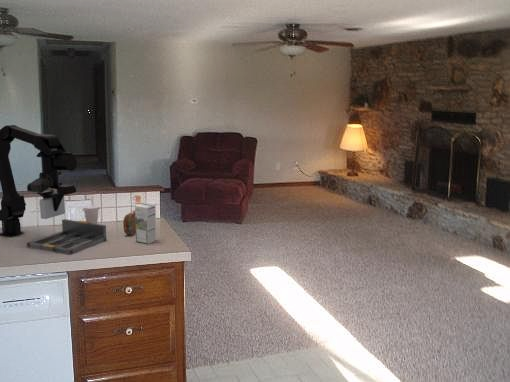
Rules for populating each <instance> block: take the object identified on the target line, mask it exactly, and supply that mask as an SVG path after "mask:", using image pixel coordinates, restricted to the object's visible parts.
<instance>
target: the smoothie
mask: <svg viewBox="0 0 510 382" xmlns="http://www.w3.org/2000/svg"><path fill="white" fill-rule="evenodd" d="M82 208H83V209H82V210H83V211H84V218H85V221H87V222H90V223H94V224H98V221H99V220H98V219H99V210H100V205H98V204H94V196H93V195H91V204H87V205H84V206H82Z"/></svg>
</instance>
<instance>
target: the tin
mask: <svg viewBox="0 0 510 382" xmlns="http://www.w3.org/2000/svg"><path fill="white" fill-rule="evenodd" d="M122 223H123V231H124V234H126V235H127V236H128V235H130V236H131V235H136V221H135V209H134V210H132V211H131V212H129V213H127V214H125V216H124V217H123V220H122Z"/></svg>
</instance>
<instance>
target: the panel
mask: <svg viewBox="0 0 510 382" xmlns="http://www.w3.org/2000/svg"><path fill="white" fill-rule="evenodd" d="M65 203H66V202H65V196H64V197H63V199H62V200H61V203H60V205H59V208H58V210H57V211H54V206H53V198H52V197H49V198H45V199H43V198H41V199H39V211H40V220H41V219H42V220H48V219H50V218H54V217H58V216H62V215H65V214H66V207H65V206H66V205H65Z"/></svg>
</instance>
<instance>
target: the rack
mask: <svg viewBox="0 0 510 382" xmlns="http://www.w3.org/2000/svg"><path fill="white" fill-rule="evenodd" d="M61 223H62V224H61V226H62V230H61V231H59V232H56V233H53V234H49V235H46V236H43V237H40V238H37V239H33V240H31V241H29V242H26V247H27V248H31V249H36V250H40V251H42V250H43V251H48V252H53V253H58V254H64V255H69V256H71V255H73V254H76V253H78V252H81V251H84V250H85V249H88V248H91V247H93V246H97V245H98V244H101V243H103V242H106V241H107V225H106V224H99V223H97V224H94V223H90V222H87V221H86V220H82V219H81V220H73V219H66V218H65V219H62V220H61ZM81 243H82V244H81Z"/></svg>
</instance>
